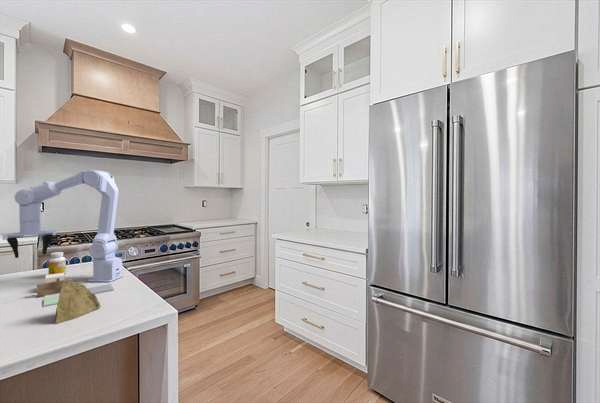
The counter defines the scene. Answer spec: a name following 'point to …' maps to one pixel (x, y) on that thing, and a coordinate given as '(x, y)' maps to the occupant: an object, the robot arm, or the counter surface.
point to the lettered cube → (55, 277)
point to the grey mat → (100, 289)
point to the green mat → (51, 301)
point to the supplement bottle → (57, 263)
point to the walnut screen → (50, 288)
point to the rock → (74, 301)
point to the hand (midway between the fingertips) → (30, 255)
